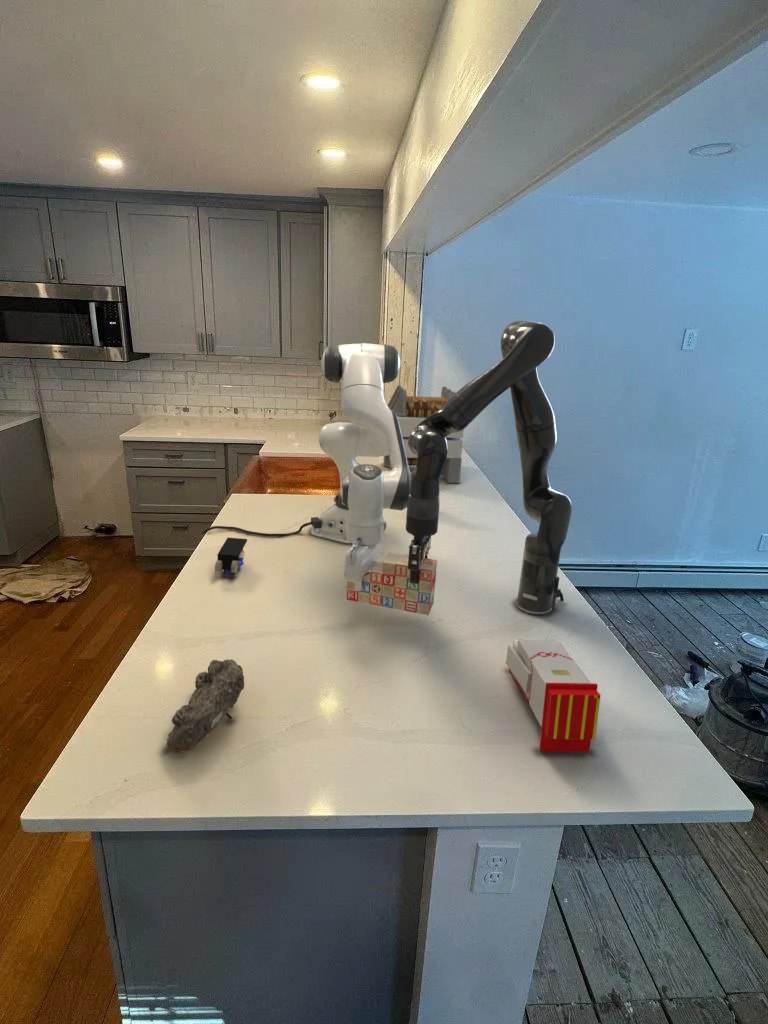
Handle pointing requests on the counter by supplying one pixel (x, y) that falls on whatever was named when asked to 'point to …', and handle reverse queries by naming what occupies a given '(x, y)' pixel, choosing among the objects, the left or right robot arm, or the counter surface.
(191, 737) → the fossil
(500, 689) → the counter surface
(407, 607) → the stack of blocks
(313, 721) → the counter surface
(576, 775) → the counter surface
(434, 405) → the grey slatted crate
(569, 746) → the toy
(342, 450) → the left robot arm
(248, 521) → the counter surface
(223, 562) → the figurine character
